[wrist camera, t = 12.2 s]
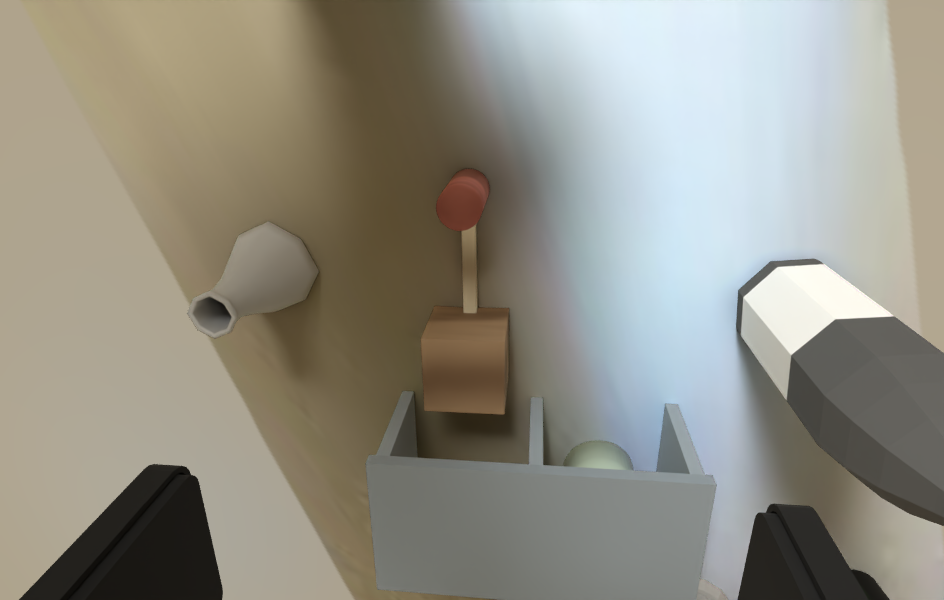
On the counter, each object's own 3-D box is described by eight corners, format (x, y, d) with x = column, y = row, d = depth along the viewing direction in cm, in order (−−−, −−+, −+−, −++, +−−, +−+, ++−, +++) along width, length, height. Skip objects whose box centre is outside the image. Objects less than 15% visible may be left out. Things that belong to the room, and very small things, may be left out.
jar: (564, 438, 52) (567, 493, 45) (635, 442, 51) (649, 498, 45) (561, 494, 54) (564, 553, 48) (629, 498, 54) (641, 559, 47)
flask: (279, 323, 51) (220, 383, 41) (213, 261, 49) (137, 309, 40) (335, 271, 48) (286, 322, 39) (268, 204, 47) (201, 241, 38)
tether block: (428, 168, 44) (412, 185, 39) (510, 168, 44) (505, 185, 38) (437, 371, 51) (424, 410, 45) (508, 374, 50) (504, 414, 45)
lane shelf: (396, 390, 52) (365, 463, 43) (684, 404, 49) (716, 484, 40) (404, 501, 56) (377, 589, 47) (667, 519, 54) (693, 615, 45)
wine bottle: (867, 274, 44) (1424, 651, 16) (811, 366, 47) (1197, 814, 19) (762, 240, 44) (1141, 561, 16) (713, 335, 47) (959, 740, 19)
